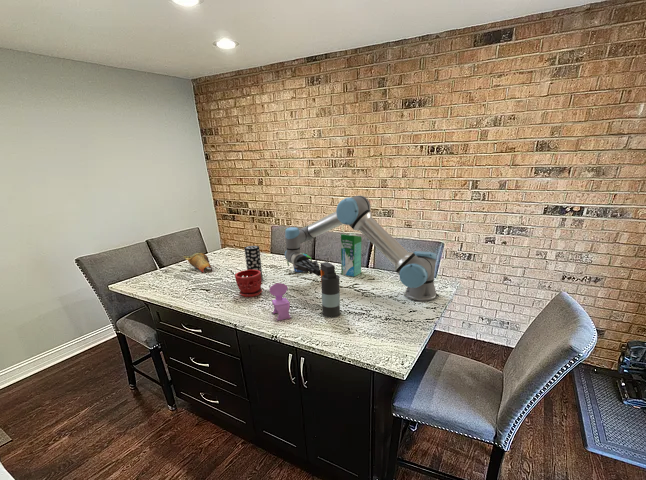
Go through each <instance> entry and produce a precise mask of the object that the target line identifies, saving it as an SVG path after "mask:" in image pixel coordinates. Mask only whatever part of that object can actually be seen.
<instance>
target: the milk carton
mask: <svg viewBox="0 0 646 480" xmlns="http://www.w3.org/2000/svg"><path fill="white" fill-rule="evenodd" d="M340 267H341V268H340V269H341V270H340V271H341V273H340V274H341V275H342V276H348V277H357V276H358V275H359V274H361V273H362V236H360V235H357V233H353V232H349V234H343V233H341V234H340Z"/></svg>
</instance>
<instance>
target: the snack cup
mask: <svg viewBox="0 0 646 480" xmlns="http://www.w3.org/2000/svg"><path fill="white" fill-rule="evenodd" d="M301 253H302V254H304V255H305V256H307V257H308V258H309V260H310V261H312V262H313V259H312V257H311V256H310V255H309V254H307V253H303V252H301ZM286 262H287V263H286V264H287V266H288V267H289V266H290V262H288V261H287V260H286ZM292 267H293V270H294V272H296V273H304V272H303V271H301V270H298V269H295V268H294V265H293V264H292ZM305 270H306V269H305Z"/></svg>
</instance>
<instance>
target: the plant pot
mask: <svg viewBox="0 0 646 480" xmlns="http://www.w3.org/2000/svg"><path fill="white" fill-rule="evenodd" d="M250 275H253V276H250ZM234 279H235V282H236V286H237V288H238V290H239V295H241V297H244V298H253V297H257V296H259V295H260V294H262V293H263V289H262V282H263V281H262V279H261V272H260V271H259V270H247V269H244V270H241V271H239V272H236V273H235V274H234Z"/></svg>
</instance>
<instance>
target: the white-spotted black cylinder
mask: <svg viewBox="0 0 646 480" xmlns="http://www.w3.org/2000/svg"><path fill="white" fill-rule="evenodd" d="M243 249H244V257H245V265H246V270H259V271H260V272H261V279H262V282H263V280H264V278H263V268H262V261H261V250H260V246H259V245H248V246H247V245H246V246H244V247H243ZM250 276H253V275H250Z"/></svg>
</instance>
